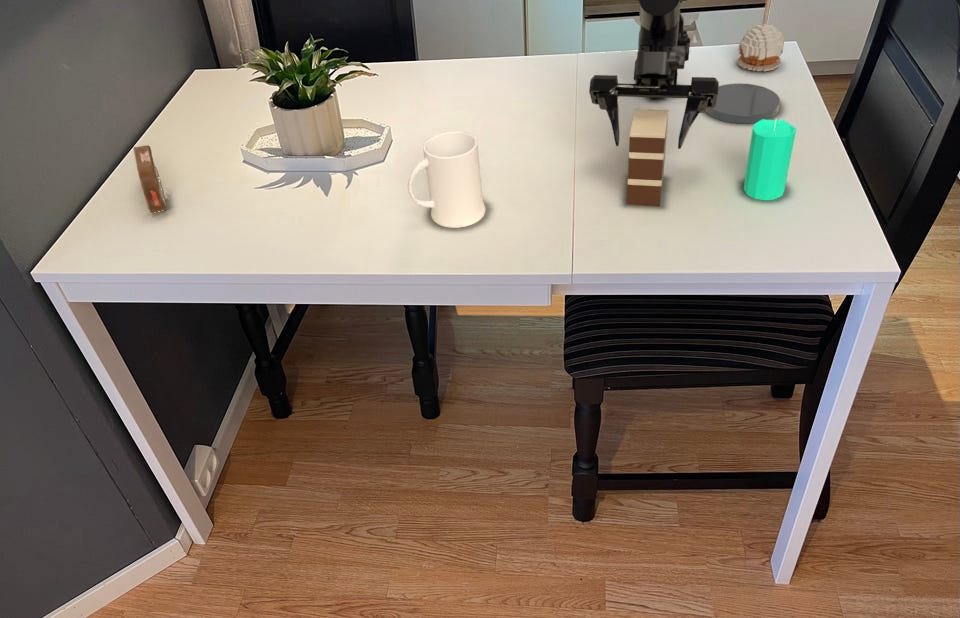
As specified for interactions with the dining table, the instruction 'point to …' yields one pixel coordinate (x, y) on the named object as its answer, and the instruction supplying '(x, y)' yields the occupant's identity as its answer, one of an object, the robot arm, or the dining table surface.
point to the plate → (744, 103)
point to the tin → (149, 179)
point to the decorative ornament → (761, 46)
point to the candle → (769, 159)
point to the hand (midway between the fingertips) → (647, 146)
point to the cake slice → (646, 156)
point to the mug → (452, 179)
